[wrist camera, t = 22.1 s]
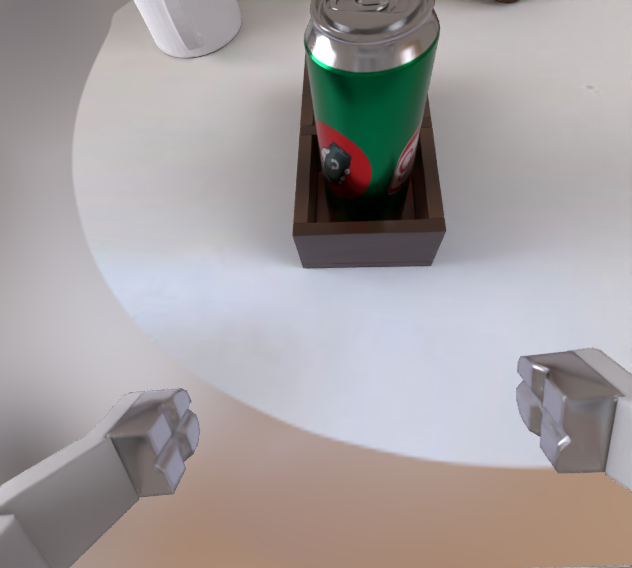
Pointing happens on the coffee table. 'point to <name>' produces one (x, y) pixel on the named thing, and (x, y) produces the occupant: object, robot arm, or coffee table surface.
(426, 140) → the holder
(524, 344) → the coffee table surface
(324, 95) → the soda can
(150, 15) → the mug
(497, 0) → the wooden figurine
